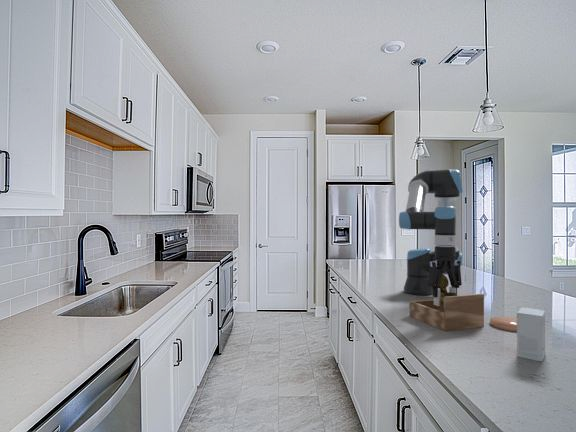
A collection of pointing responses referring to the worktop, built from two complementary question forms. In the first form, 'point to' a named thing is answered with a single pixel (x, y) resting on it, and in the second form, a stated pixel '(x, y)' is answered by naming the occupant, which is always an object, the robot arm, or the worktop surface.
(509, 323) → the peach round disc
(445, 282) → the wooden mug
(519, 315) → the small box
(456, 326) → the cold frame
